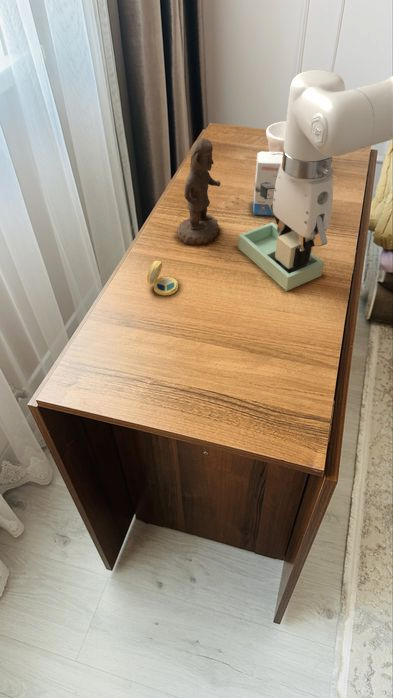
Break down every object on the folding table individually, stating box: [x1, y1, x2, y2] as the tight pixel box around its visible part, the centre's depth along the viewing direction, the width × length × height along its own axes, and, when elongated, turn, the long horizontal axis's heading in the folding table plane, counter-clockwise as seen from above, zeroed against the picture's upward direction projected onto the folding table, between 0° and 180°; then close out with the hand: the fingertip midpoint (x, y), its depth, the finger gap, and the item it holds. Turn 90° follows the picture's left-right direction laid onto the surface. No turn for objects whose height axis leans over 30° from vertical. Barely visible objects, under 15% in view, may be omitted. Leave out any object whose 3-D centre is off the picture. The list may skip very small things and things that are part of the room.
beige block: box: [275, 231, 313, 269], centre depth 89 cm, size 4×5×4 cm
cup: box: [265, 120, 286, 152], centre depth 116 cm, size 10×10×9 cm
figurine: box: [177, 137, 221, 246], centre depth 94 cm, size 9×8×20 cm
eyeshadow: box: [146, 260, 179, 296], centre depth 89 cm, size 4×5×5 cm
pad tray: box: [237, 221, 325, 292], centre depth 94 cm, size 8×15×3 cm, turn 31°
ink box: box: [252, 150, 283, 217], centre depth 103 cm, size 9×5×12 cm, turn 84°
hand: (292, 257), depth 90 cm, fingers closed on beige block, 4 cm apart
